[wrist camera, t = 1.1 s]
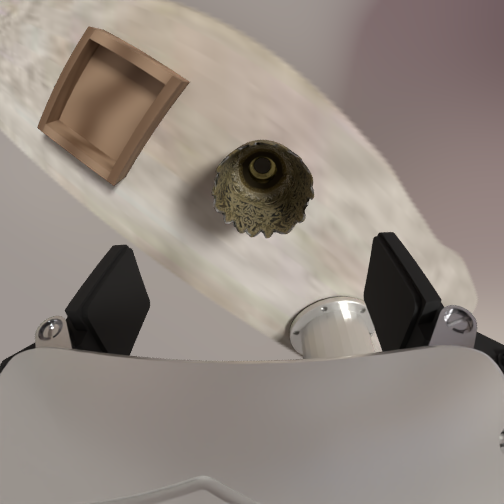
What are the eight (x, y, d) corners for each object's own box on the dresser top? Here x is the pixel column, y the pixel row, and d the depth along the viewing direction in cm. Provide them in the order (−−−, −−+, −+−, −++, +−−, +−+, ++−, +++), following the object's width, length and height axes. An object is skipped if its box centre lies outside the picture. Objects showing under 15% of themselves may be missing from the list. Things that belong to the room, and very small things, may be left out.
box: (189, 82, 22) (181, 81, 20) (125, 176, 28) (113, 185, 25) (103, 29, 19) (88, 26, 16) (53, 122, 24) (37, 128, 21)
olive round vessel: (237, 118, 24) (228, 129, 18) (311, 143, 26) (330, 164, 19) (215, 187, 28) (200, 223, 22) (284, 209, 29) (291, 250, 23)
